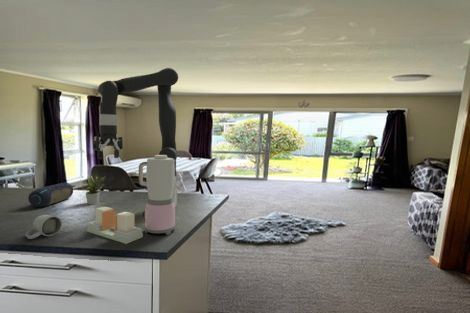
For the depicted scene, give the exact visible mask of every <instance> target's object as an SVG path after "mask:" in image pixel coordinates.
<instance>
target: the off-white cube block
mask: <svg viewBox="0 0 470 313" xmlns="http://www.w3.org/2000/svg"><path fill="white" fill-rule="evenodd" d="M115 215H116V209H115V208H114V209H113V208H112V207H109V206H101V207H97V208H95V221H96V224H98V225H101V229H102V230H106V229H108V228H110V227H114V216H115Z"/></svg>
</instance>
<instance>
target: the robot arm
mask: <svg viewBox="0 0 470 313" xmlns="http://www.w3.org/2000/svg"><path fill="white" fill-rule="evenodd" d="M178 80H179V74H178V72H177V71H176V70H175V69H174V68H172V67H166V68H163V69H161V70H159V71H156V72H152V73H148V74H142V75H135V76H129V77H124V78H120V79H118V80H105V81H103V82H101V83H100V84H99V85H98V88H97V89H98V90H97V91H98V93H99V94H100V95H101V102H100V103H99V104H100V105H99V136H94V137H93V141H92V142H93V143H92V149H93V150H94V151H97V154H96V156H97V159H98V160H103V159H104V158H103V157H104V156H103V155H104V152H103V150H104V148H106V147H109V146H110V147H112V148H113V158H114V159H119V156H120V150H123V149H124V148H123V137H122V136H117V134H118V118H117V103H118V97H119V95H123V94H129V93H135V92H139V91H142V90H145V89H148V88H153V87H156V88H157V93H158V94H157V95H158V124H159V130H160V134H161V149H160V151H159V152H158V155H167V158H173V159H174V160H175V162H174V167H175V180H174V188H173V194H172V201H173V203H174V206H175V208H177V207H178V188H177V158H178V151H177V150H178V149H177V143H176V134H177V133H176V131H177V110H176V107H175V103H174V102H173V98H172V86H175V84H177V82H178Z"/></svg>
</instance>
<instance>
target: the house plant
mask: <svg viewBox="0 0 470 313" xmlns="http://www.w3.org/2000/svg"><path fill="white" fill-rule="evenodd" d="M90 178H91V179H90ZM90 178H89V177H88V176H87V177H86V179H87V181H85V184H86V185H87V186H86V185H82V187H81V188H80V190H81V189H83V190H85V191H87V192H85V197H86V202H87V204H88V205H92V206H93V205H98V204H99V199H100V194H101V190H100V189H102V187H103V186H104V185H105V183H104V184H101V183H102V182H103V181H104V179H105V176H103V177H101V178H99V180H98V176H96V177H95V178H93V176H92V175H90ZM79 179H80V178H79ZM80 180H81V181H82V182H84V180H83V179H80ZM100 184H101V185H100ZM98 190H100V191H98Z"/></svg>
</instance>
